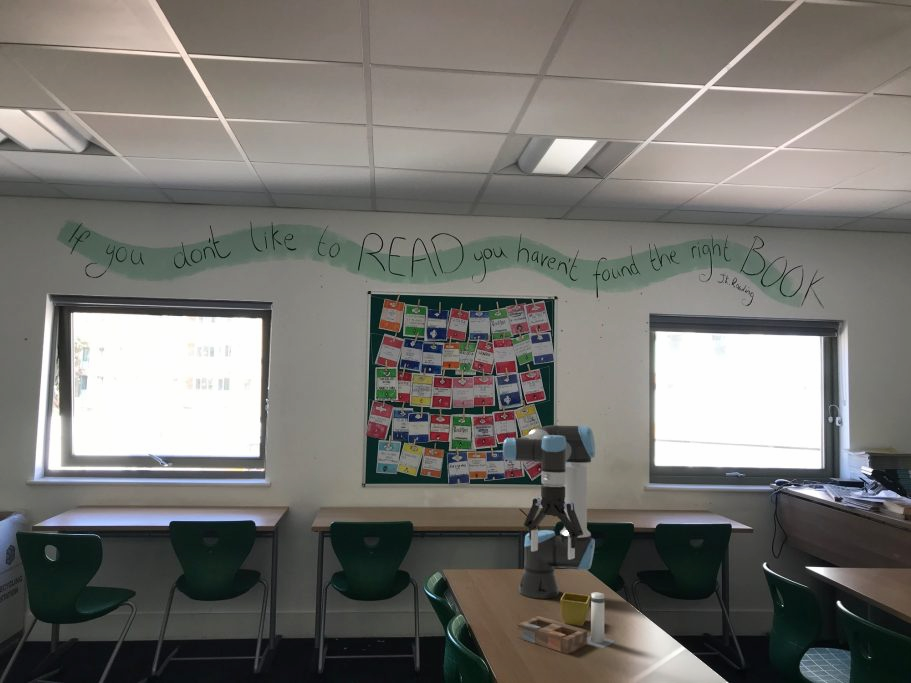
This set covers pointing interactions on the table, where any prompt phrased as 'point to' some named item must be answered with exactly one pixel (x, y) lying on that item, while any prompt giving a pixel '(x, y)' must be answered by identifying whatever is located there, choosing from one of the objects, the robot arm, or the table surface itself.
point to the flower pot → (574, 608)
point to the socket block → (552, 634)
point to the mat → (602, 645)
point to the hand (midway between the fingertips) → (552, 554)
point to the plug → (597, 617)
